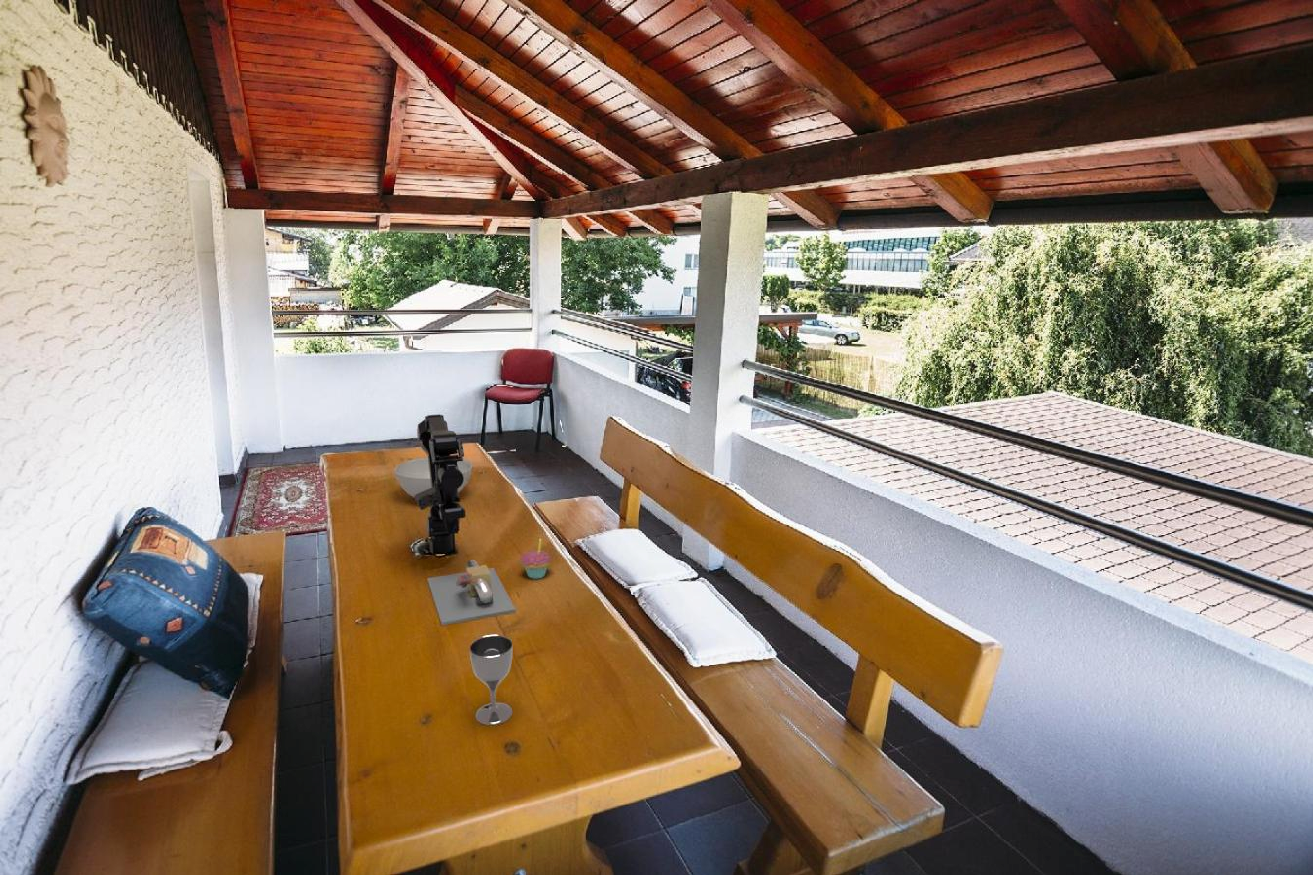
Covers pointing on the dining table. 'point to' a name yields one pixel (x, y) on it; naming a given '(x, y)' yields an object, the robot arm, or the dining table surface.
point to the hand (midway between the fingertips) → (449, 532)
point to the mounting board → (466, 599)
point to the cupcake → (535, 562)
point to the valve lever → (464, 580)
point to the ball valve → (479, 583)
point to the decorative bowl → (424, 475)
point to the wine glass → (492, 674)
